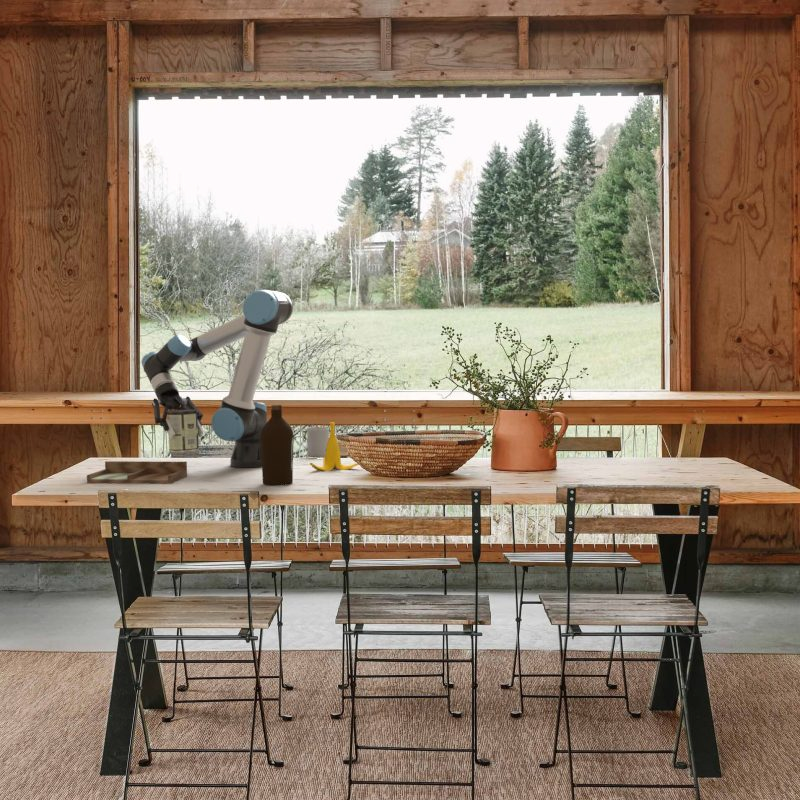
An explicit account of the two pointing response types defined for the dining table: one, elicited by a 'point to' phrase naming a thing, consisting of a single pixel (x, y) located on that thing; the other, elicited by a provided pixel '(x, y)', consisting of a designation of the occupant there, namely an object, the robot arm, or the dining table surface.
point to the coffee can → (184, 430)
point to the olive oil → (277, 450)
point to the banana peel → (332, 454)
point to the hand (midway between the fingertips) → (187, 435)
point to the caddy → (139, 472)
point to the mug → (317, 441)
